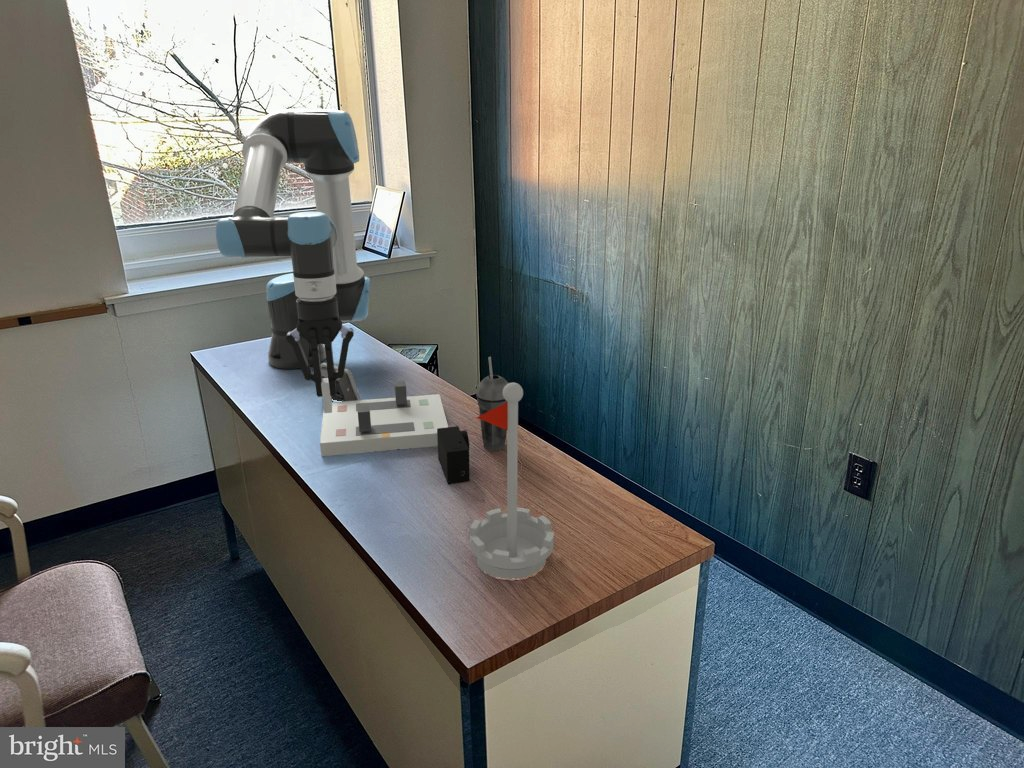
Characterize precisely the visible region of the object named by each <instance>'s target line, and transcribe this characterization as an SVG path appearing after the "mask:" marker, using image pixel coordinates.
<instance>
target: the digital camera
mask: <svg viewBox="0 0 1024 768" xmlns="http://www.w3.org/2000/svg"><path fill="white" fill-rule="evenodd" d="M468 433H469V432H468V431H467V429H465V430H460V427H459V426H457V425H455V426H448V427H447V428H438V429H437V440H438V446H437V458H438V459H437V460H438V462H439V464H440V468H441V470H442V472H443V475H444V477H445V481H446V483H447V485H455V484H461V483H468V482H470V481H471V480H470V479H471V477H470V476H471V474H470V473H471V471H470V439H469V434H468Z"/></svg>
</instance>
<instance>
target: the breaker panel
mask: <svg viewBox="0 0 1024 768" xmlns="http://www.w3.org/2000/svg"><path fill="white" fill-rule="evenodd" d="M342 401H343V400H342ZM364 405H370V418H371V431H365V432H359V422H358V406H364ZM322 414H323V415H322V422H321V431H320V440H319V445H320V447H319V448H320V454H321V455H320V456H321V457H331V456H342V455H354V454H364V453H375V452H374V451H377V452H387V450H389V451H398V450H397V449H400V450H408V449H410V448H411V449H421V448H431V447H438V440H437V429H438V428H447V427H449V424H448V422H447V418H446V414H445V409H444V406H443V402H442V399H441V395H440V394H439V393H438V394H426V395H424V394H423V395H413V396H411V395H410V396H407V404H404V405H396V399H395V397H387V398H371V399H361V400H356V401H343V402H332V413H324V410H323V413H322Z"/></svg>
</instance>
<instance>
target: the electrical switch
mask: <svg viewBox="0 0 1024 768" xmlns="http://www.w3.org/2000/svg"><path fill="white" fill-rule="evenodd" d="M320 365H321V374H322V376H321V377H322V378H328V372H327V362H321V363H320ZM338 366H339V365H335V364H334V370H335V371H336V370H338ZM335 382H336V395H335V396H331V399H333V400H337V401H342V402H343V401H356V400H362V398H361V396H360V393H359V390H358V387H357V385H356V382H355V378H354V377H353V373H352V371H351V370H350V369H348V368H345V370H344V376H343V377H342V378H338V379H336V380H335ZM341 397H342V398H341Z"/></svg>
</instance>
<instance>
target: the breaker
mask: <svg viewBox="0 0 1024 768" xmlns="http://www.w3.org/2000/svg"><path fill="white" fill-rule="evenodd" d="M393 383H394V398H395V399H396V405H404V404H407V397H408V396H407V385H406V383H407V382H406V380H396V381H393Z"/></svg>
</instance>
